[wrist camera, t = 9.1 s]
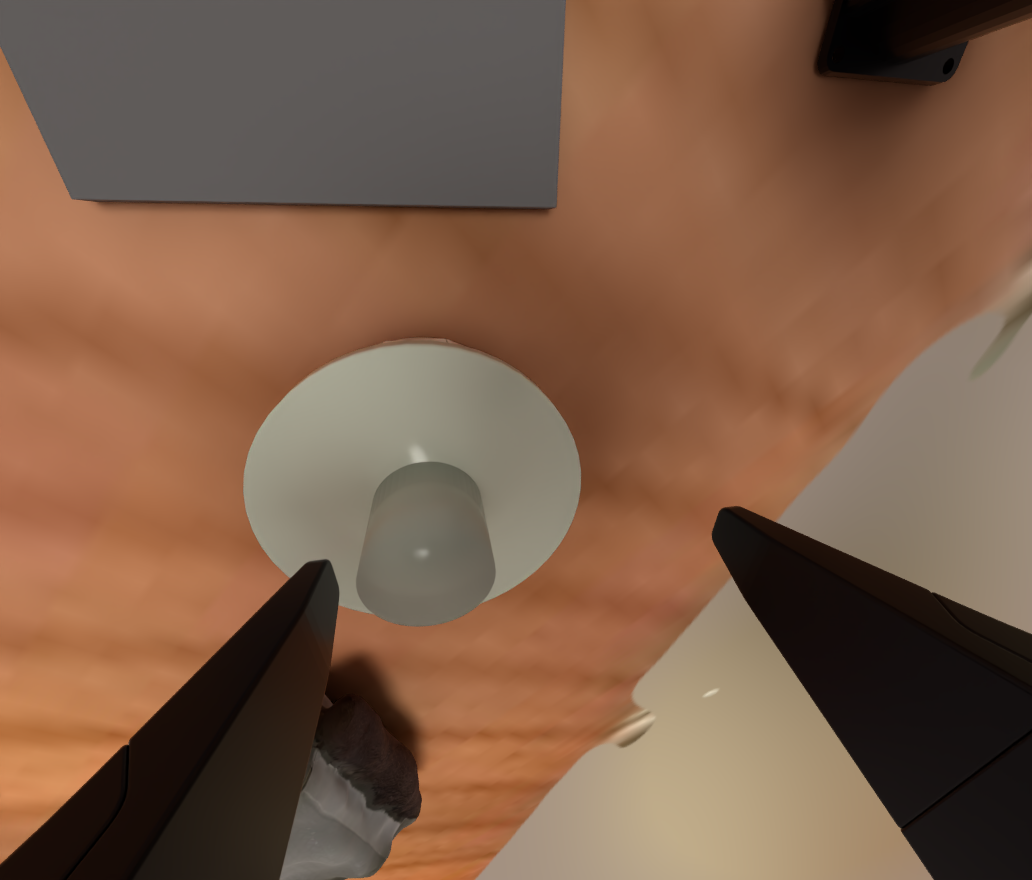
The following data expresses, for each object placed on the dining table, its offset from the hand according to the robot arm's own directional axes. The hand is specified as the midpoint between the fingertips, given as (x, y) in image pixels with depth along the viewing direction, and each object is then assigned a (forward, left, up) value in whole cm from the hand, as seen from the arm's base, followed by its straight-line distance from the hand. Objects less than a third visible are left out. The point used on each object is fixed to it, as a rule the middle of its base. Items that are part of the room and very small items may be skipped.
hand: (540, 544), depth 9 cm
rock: (+12, +27, -12) cm, 32 cm away
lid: (+3, +3, -7) cm, 8 cm away
